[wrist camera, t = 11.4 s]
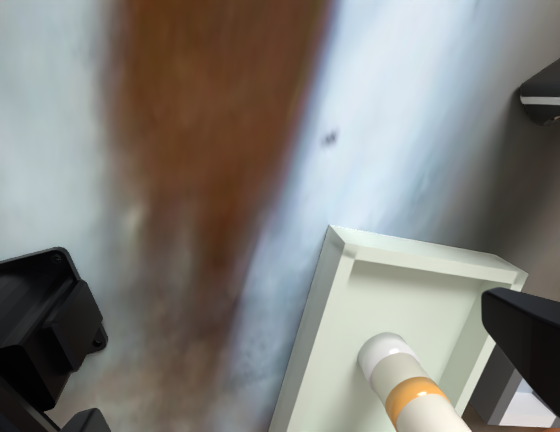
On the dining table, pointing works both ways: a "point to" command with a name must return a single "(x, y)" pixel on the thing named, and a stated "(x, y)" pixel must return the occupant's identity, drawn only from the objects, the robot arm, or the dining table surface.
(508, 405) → the tray
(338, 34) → the dining table surface
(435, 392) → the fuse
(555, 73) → the battery charger
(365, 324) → the tray
